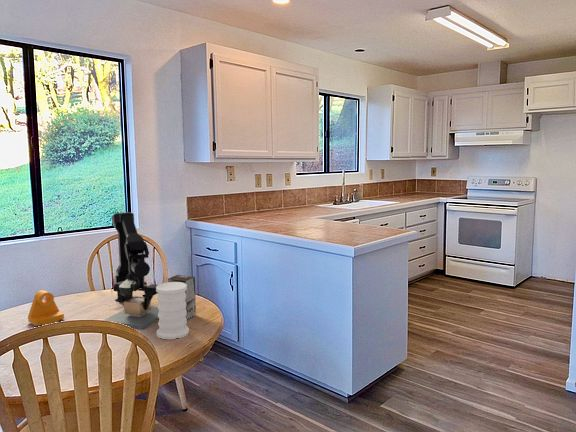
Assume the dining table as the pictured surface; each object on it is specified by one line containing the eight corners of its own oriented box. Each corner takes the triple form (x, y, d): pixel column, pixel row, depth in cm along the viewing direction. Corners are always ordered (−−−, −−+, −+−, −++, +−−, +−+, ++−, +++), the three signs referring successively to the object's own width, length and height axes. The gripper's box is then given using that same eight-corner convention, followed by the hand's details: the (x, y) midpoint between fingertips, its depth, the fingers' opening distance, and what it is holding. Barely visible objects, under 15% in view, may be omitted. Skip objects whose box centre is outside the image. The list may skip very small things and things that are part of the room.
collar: (124, 313, 177) (124, 301, 176) (135, 307, 184) (135, 296, 183) (140, 315, 175) (139, 303, 174) (151, 309, 181) (150, 297, 181)
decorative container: (163, 342, 156) (161, 292, 153) (152, 332, 165) (150, 284, 162) (194, 335, 162) (193, 287, 160) (181, 325, 172) (180, 279, 169)
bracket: (35, 328, 168) (33, 297, 166) (28, 323, 173) (26, 293, 171) (65, 320, 176) (63, 290, 174) (57, 315, 181) (55, 287, 179)
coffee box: (196, 315, 182) (195, 276, 180) (186, 320, 177) (185, 280, 174) (178, 311, 186) (177, 274, 184) (168, 316, 180) (167, 278, 178)
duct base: (134, 306, 192) (134, 290, 191) (171, 311, 186) (171, 294, 185) (102, 323, 173) (101, 305, 172) (142, 329, 167) (141, 310, 166)
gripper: (102, 274, 172) (104, 312, 174) (144, 278, 167) (146, 318, 169) (121, 267, 183) (123, 303, 185) (161, 270, 177) (162, 308, 179)
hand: (138, 308), depth 179 cm, fingers closed on collar, 7 cm apart
